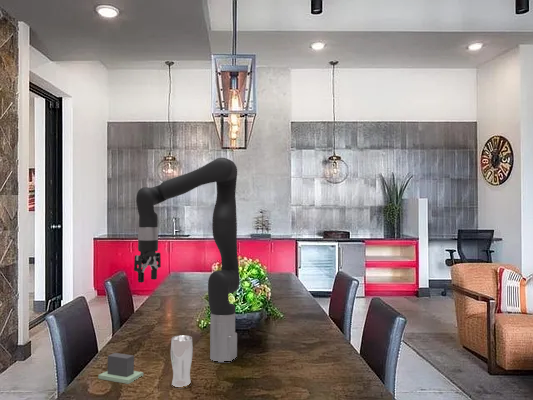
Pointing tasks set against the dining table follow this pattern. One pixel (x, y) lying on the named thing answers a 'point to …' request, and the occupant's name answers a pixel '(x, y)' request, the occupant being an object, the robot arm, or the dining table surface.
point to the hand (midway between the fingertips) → (147, 280)
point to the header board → (120, 377)
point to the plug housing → (120, 364)
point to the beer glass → (181, 359)
